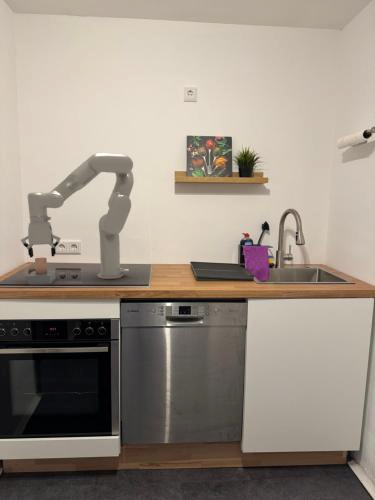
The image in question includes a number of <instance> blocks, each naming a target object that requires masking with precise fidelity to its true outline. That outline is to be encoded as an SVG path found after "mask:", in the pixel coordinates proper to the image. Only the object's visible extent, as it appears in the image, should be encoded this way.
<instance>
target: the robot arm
mask: <svg viewBox="0 0 375 500" xmlns="http://www.w3.org/2000/svg"><path fill="white" fill-rule="evenodd" d="M133 168H134V161H133V159H132V158H131V157H130V156H129V155H126V154H117V153H115V154H114V153H102V152H96V153H94V154H92V155H91V156H89V157H88V158H87V159H86V160H84V161H83V162H82V163H81V164H80V165H78V166H77V167H76V169H74V170H73V171H71V172H70V173H69V175H67V176H66V177H65V179H63V181H61V182H60V183H59V184H57V186H55V187H54V188H53V189H52V190H50V191H49V192H29V193H28V194H27V203H28V204H27V205H28V214H29V223H28V231H27V233H28V234H27V236H26V237H23V238H22V239H20V242H21V243H22V245H23V246H24V248H26V249H27V251H28V256H29V258H30V259H31V258H33V257H34V248H33V246H36V245H37V246H38V245H41V246H42V245H49V246H50V247H51V248H50V253H51V254H50V255H51V257H55V256H56V254H57V250H56V247H57V246H58V245H59V244H60V241H61V238H62V237H59V236H58V235H55V234H53V229H52V224H51V222H50V221H51V220H52V217H51V216H49V215H48V209H59V208H61V207H62V206H63V205H64V202H65V201H66V200H68V199H69V198H70V197H72V195H74V194H75V193H76V192H78V191H80V190H82V189H84V188H85V187H86V186H87V185H89V183H91V182H92V181H93V180H94V179H96V177H97V176H98V175H100V174H101V173H111V174H112V173H113V174H115V177H116V178H115V184H114V187H113V189H112V192H111V194H110V196H109V198H108V202H107V206H108V211H107V213H106V214H104V215H102V216H101V217H100V218H99V221H98V230H99V231H98V233H99V248H100V249H99V252H100V253H99V254H100V255H99V256H100V272H99V273H97V278H99V279H102V280H103V279H104V280H112V279H113V280H115V279H121V278H122V277H123V276H124V274H129V273H130V269H129V268H122V267H121V263H120V261H121V259H120V256H121V255H120V253H121V251H120V249H121V248H120V243H121V242H120V233H121V232H122V230H123V229H124V226H125V224H126V221H127V219H128V218H129V214H130V211H131V210H132V209H131V208H132V201H131V198H130V195H131V193H132V189H133V186H134V181H135V179H134V175H133V171H132V170H133ZM47 208H48V209H47ZM54 239H55V240H56V241H55V242H54ZM27 240H28V243H27Z"/></svg>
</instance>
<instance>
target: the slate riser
mask: <svg viewBox="0 0 375 500" xmlns="http://www.w3.org/2000/svg"><path fill="white" fill-rule="evenodd" d="M55 280H56V271H55V270H47V273H46V274H36V271H33V272H31V273H30V274H28V275H26V284H29V285H51V284H52V283H53V282H55Z"/></svg>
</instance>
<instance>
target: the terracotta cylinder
mask: <svg viewBox="0 0 375 500" xmlns="http://www.w3.org/2000/svg"><path fill="white" fill-rule="evenodd" d="M34 268H35V271H36V274H46V273H47V271H48V263H47V257H36V258H34Z"/></svg>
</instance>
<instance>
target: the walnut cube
mask: <svg viewBox="0 0 375 500" xmlns="http://www.w3.org/2000/svg"><path fill="white" fill-rule="evenodd" d="M27 270H28V273H27V274H28V275H29V274H30V273H31V272H33V271H35V267H29V268H27Z"/></svg>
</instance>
